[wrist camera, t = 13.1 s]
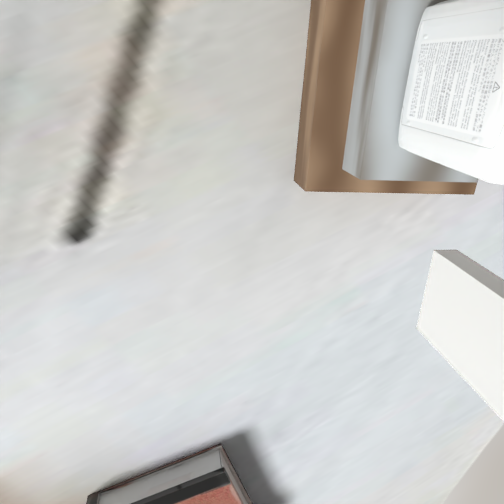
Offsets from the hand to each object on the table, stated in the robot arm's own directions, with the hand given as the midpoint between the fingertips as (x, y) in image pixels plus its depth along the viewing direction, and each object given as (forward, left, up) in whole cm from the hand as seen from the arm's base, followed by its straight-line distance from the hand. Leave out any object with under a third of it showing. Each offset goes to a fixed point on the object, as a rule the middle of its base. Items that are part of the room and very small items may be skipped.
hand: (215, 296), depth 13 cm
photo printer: (+17, +6, -21) cm, 28 cm away
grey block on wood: (+18, +6, -29) cm, 34 cm away
